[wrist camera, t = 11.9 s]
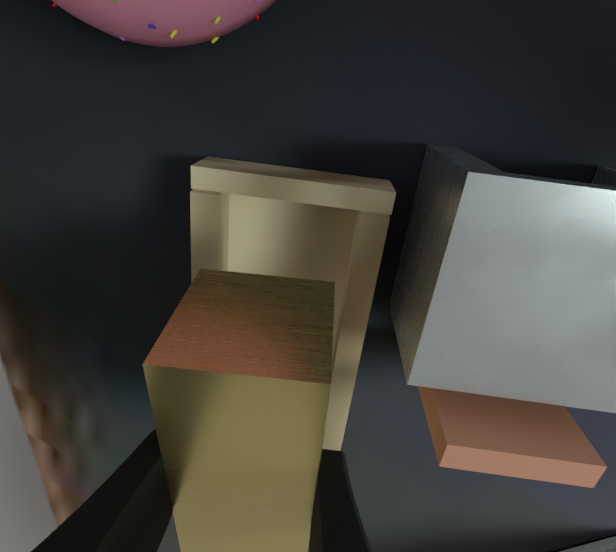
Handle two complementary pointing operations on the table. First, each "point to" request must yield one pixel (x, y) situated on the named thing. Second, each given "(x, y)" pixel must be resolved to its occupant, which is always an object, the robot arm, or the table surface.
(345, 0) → the table surface
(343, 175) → the beige tray
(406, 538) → the table surface
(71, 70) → the table surface
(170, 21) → the doughnut
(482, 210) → the socket sleeve
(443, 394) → the salmon pink block
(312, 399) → the olive rectangular pillar
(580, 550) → the small box
